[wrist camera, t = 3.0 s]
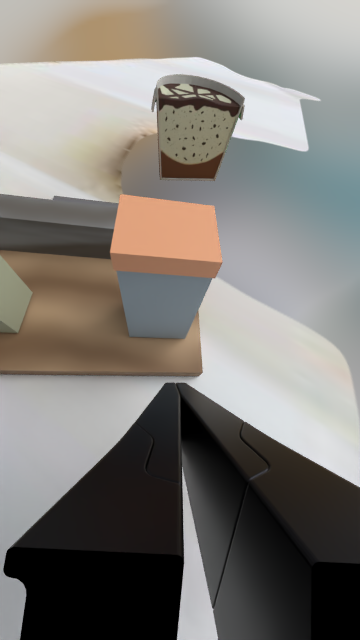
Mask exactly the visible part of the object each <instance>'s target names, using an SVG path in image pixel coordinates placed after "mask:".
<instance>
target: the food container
mask: <svg viewBox="0 0 360 640" xmlns="http://www.w3.org/2000/svg"><path fill="white" fill-rule="evenodd" d="M244 100H245V98H244V97H243V96H242V95H241V94H240V93H239V92H237V91H236V90H234V89H232V88H230V87H229V86H226V85H224V84H222V83H219V82H217V81H214V80H211V79H207V78H203V77H199V76H193V75H183V74H176V75H168V76H164V77H162V78H160V79H159V80H158V81H157V85H156V88H155V90H154V96H153V102H152V112H153V111H154V105H155V102H156V103H157V126H158V149H159V172H160V180H199V181H200V180H201V181H202V180H203V181H215V179H216V176H217V173H218V171H219V168H220V165H221V163H222V160H223V157H224V154H225V152H226V149H227V147H228V144H229V141H230V139H231V136H232V133H233V131H234V128H235V125H236V122H237V120H238V117H239V118H240V119H241V120H242V118H243V112H244V106H245V105H244Z"/></svg>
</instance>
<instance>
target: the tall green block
mask: <svg viewBox="0 0 360 640" xmlns="http://www.w3.org/2000/svg"><path fill="white" fill-rule="evenodd" d="M32 293H33V292H32V291H31V290H30V289H29V288H28V287H27V285H26V284H25V283H24V282H23V281H22V280H21V278H20V277H19V276H18V275H17V274H16V273H15V272H14V270H13V269H12V268H11V267H10V266H9V265H8V263H7V262H6V261H5V260H4V259H3V258H2V257H1V255H0V332H5V333H18V332H19V329H20V326H21V324H22V321H23V318H24V315H25V313H26V310H27V307H28V304H29V302H30V299H31V296H32Z"/></svg>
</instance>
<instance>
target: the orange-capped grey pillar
mask: <svg viewBox="0 0 360 640" xmlns="http://www.w3.org/2000/svg"><path fill="white" fill-rule="evenodd" d="M110 256H111V260H112V265H113V270H114V271H117V276H118V282H119V287H120V292H121V297H122V302H123V307H124V312H125V317H126V322H127V327H128V332H129V337H148V338H176V339H185V338H186V336H187V334H188V331H189V329H190V327H191V325H192V322H193V320H194V318H195V316H196V314H197V311H198V309H199V307H200V305H201V302H202V300H203V298H204V296H205V293H206V291H207V289H208V287H209V285H210V282H211V280H212V278H215V277H216V275H217V273H218V271H219V269H220V267H221V264H222V256H221V250H220V243H219V236H218V229H217V223H216V216H215V209H214V206H209V205H201V204H192V203H185V202H177V201H169V200H162V199H153V198H146V197H138V196H130V195H122V194H120V199H119V205H118V210H117V216H116V221H115V227H114V232H113V238H112V243H111V249H110Z"/></svg>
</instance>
